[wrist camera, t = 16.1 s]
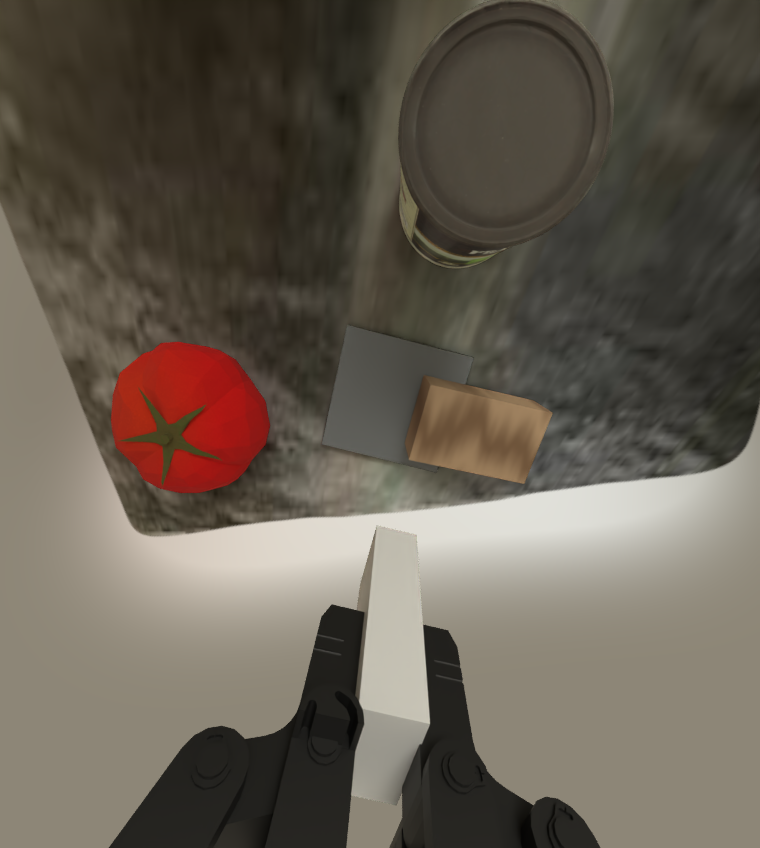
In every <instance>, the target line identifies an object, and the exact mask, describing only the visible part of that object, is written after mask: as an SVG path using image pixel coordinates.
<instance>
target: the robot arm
mask: <svg viewBox="0 0 760 848" xmlns="http://www.w3.org/2000/svg"><path fill="white" fill-rule="evenodd" d="M462 680H463V679H462V673H461V668H460V661H459V655H458V649H457V646H456V644H455V642H454V641H453V639H452V637H451V635H450V633H449V632H448V630H444V629H440V628H436V627H431V626H427V625H423V619H422V605H421V591H420V577H419V564H418V550H417V536H416V535H414V534H410V533H406V532H402V531H398V530H394V529H389V528H385V527H381V526H377V527H376V530H375V534H374V537H373V541H372V545H371V548H370V552H369V555H368V559H367V562H366V566H365V569H364V573H363V577H362V580H361V584H360V590H359V598H358V605H357V610H353V609H349V608H345V607H340V606H336V605H331V606H330V607H329V609H328V610H327V611H326V612H325V613H324V615H323V616H322V617H321V621H320V625H319V629H318V633H317V637H316V641H315V645H314V649H313V653H312V657H311V661H310V665H309V669H308V673H307V677H306V681H305V686H304V690H303V693H302V698H301V702H300V705H299V708H298V710H297V713H296V714H295V716H294V717H293V719H292V720H291V721H290V722H289V723H288V724H287V725H286V726H285V727H284V728H282V729H281V730H279V731H277V732H275V733H273V734H269V735H266V736H261V737H255V738H249V739H244V738H243V737H242V736H241V735H240V734H239V733H238V732H237V731H236V730H235V729H231V728H228V727H224V726H218V727H212V728H207V729H205V730H203V731H202V732H200V733H198V734H196V735H194V736H193V737H192V738H191V739H190V740H189V741H188V742H187V743H186V744H185V745H184V746H183V747H182V749H181V750H180V751H179V753H178V754H177V755H176V757H175V758H174V759H173V761H172V762H171V764H170V765H169V766H168V768H167V769H166V770H165V772H164V773H163V775H162V776H161V777H160V779H159V780H158V782H157V783H156V784H155V786H154V787H153V788H152V790H151V791H150V792H149V794H148V795H147V796H146V798H145V799H144V801H143V802H142V803H141V805H140V806H139V807H138V809H137V810H136V811H135V813H134V814H133V815H132V817H131V818H130V820H129V821H128V822H127V824H126V825H125V827H124V828H123V829H122V830H121V832H120V833H119V835H118V836H117V837H116V839H115V840H114V841H113V843H112V844H111V846H110V847H109V848H346V843H347V832H348V823H349V813H350V801H351V795H352V796H356V797H361V798H365V799H370V800H375V801H379V802H384V803H389V804H393V805H397V803H398V800H399V798H400V796H401V793H402V817H403V818H402V820H401V822H400V824H399V827H398V829H397V831H396V834H395V836H394V838H393V841H392V843H391V845H390V848H600V846H599V844H598V843H597V841H596V839H595V837H594V835H593V834H592V832H591V831H590V829H589V828H588V826H587V824H586V823H585V821H584V820H583V819H582V818H581V817H580V816H579V815H578V814H577V813H576V812H575V811H574V810H573V809H572V808H571V807H570V806H568V805H567V804H565V803H564V802H562V801H560V800H559V799H556V798H550V797H544V798H542V799H540V800H538V801H536V803H535V805H532V804H530V803H529V802H527V801H525V800H524V799H522V798H521V797H519V796H517V795H516V794H514V793H513V792H511V791H509V790H508V789H506V788H505V787H503V786H502V785H501V784H499V783H498V782H497V781H496V780H495V779H494V778H493V777H492V776H491V775H490V774H489V773H488V772H487V769H486V766H485V765H484V763H483V762H482V760H481V759H480V757H479V755H478V754H477V753H476V751H475V747H474V743H473V739H472V733H471V727H470V721H469V715H468V710H467V704H466V697H465V691H464V685H463V683H462Z"/></svg>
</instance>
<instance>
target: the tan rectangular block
mask: <svg viewBox="0 0 760 848" xmlns="http://www.w3.org/2000/svg"><path fill="white" fill-rule="evenodd" d="M551 416H552V412H550V411H549V410H547V409H546V408H544V407H543V406H541V405H540V404H538V403H536V402H535V401H533V400H529V399H525V398H520V397H516V396H512V395H508V394H503V393H499V392H495V391H491V390H486V389H482V388H478V387H473V386H469V385H465V384H461V383H456V382H452V381H448V380H444V379H439V378H435V377H431V376H426V375H424V376H423V379H422V383H421V387H420V390H419V394H418V397H417V401H416V404H415V408H414V411H413V415H412V419H411V422H410V426H409V429H408V433H407V436H406V440H405V446H406V450H407V454H408V458H409V460H412V461H417V462H422V463H426V464H431V465H436V466H441V467H446V468H450V469H455V470H460V471H465V472H470V473H475V474H479V475H484V476H489V477H494V478H499V479H503V480H508V481H513V482H518V483H523V484H524V483H525V480H526V478H527V475H528V473H529V470H530V468H531V465H532V463H533V461H534V458H535V456H536V453H537V451H538V448H539V446H540V443H541V441H542V438H543V436H544V433H545V431H546V428H547V426H548V423H549V421H550V418H551Z"/></svg>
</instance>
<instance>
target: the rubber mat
mask: <svg viewBox="0 0 760 848" xmlns="http://www.w3.org/2000/svg"><path fill="white" fill-rule="evenodd" d="M473 359H474V358H473V357H470V356H467V355H463V354H459V353H455V352H451V351H447V350H443V349H439V348H436V347H432V346H428V345H424V344H420V343H416V342H412V341H408V340H405V339H401V338H397V337H393V336H389V335H385V334H381V333H377V332H374V331H370V330H366V329H362V328H358V327H354V326H350V325H347V329H346V333H345V338H344V343H343V347H342V352H341V357H340V361H339V366H338V371H337V375H336V380H335V385H334V389H333V394H332V399H331V403H330V408H329V413H328V417H327V422H326V427H325V432H324V436H323V441H322V444H323V445H327V446H331V447H335V448H339V449H343V450H347V451H351V452H355V453H359V454H363V455H367V456H371V457H375V458H379V459H384V460H388V461H392V462H396V463H400V464H404V465H408V466H412V467H416V468H420V469H424V470H428V471H432V472H436V473H437V470H438V467H439V466H436V465H431V464H426V463H422V462H417V461H412V460H409V458H408V454H407V450H406V446H405V440H406V436H407V433H408V429H409V426H410V422H411V419H412V415H413V411H414V408H415V404H416V401H417V397H418V394H419V390H420V387H421V383H422V379H423V376H424V375H426V376H431V377H435V378H439V379H444V380H448V381H452V382H456V383H461V384H466V380H467V377H468V374H469V371H470V368H471V365H472V362H473Z"/></svg>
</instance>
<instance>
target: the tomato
mask: <svg viewBox="0 0 760 848" xmlns="http://www.w3.org/2000/svg"><path fill="white" fill-rule="evenodd" d="M111 423H112V432H113V436H114V441H115V445H116V448H117V449H118V450H119V451H120V452H121V453H122V454H123V455H124V456H126V457H127V458H128V459H129V460H130V461H131V462H132V463H133V464H134V465H135V466H136V467H137V469H138V471H139V472H140V474H141V476H142V478H143V479H144V480H145V481H147V482H149V483H151V484H153V485H154V486H156V487H158V488H160V489H164V490H169V491H174V492H178V493H200V492H204V491H208V490H212V489H216V488H219V487H223V486H226V485H229V484H230V483H232V482H233V481H235V480H237V479H238V478H239V477H240V476H241V475H242V474H243V473H244V472H245V471H246V469H247V467H248V466H249V464H250V463H251V461H252V459H253V458H254V457H255V456H256V455H257V454H258V453H259V451H260V450H261V449H262V448H263V447H264V446H265V445H266V440H267V436H268V432H269V428H270V423H269V418H268V413H267V407H266V402H265V400H264V398H263V397H262V395H261V394H260V393H259V391H258V390H257V388H256V387H255V385H254V384H253V382H252V381H251V379H250V378H249V377H248V375H247V374H246V373H245V371H244V370H243V369H242V367H241V366H240V365H239V363H238V362H237V361H236V359H234V358H232V357H230V356H229V355H227V354H225V353H223V352H222V351H220V350H217V349H214V348H210V347H206V346H200V345H193V344H188V343H182V342H170V343H161V344H159V345H158V346H157V347H156V348H155V349H154V350H153V351H150V352H147V353H144V354H142V355H141V356H140V357H138V358H137V359H136V360H135V361H134V362H132V363H131V364H130V365H129V366H128V367H126V368H125V369H124V370H123V371H122V372H121V373H120V374H119V377H118V381H117V384H116V387H115V390H114V393H113V401H112V415H111Z"/></svg>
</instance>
